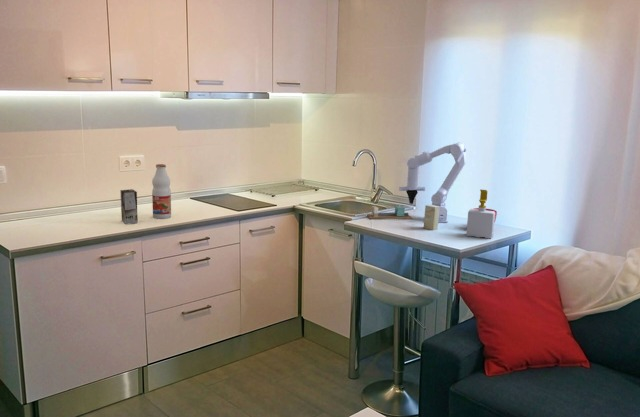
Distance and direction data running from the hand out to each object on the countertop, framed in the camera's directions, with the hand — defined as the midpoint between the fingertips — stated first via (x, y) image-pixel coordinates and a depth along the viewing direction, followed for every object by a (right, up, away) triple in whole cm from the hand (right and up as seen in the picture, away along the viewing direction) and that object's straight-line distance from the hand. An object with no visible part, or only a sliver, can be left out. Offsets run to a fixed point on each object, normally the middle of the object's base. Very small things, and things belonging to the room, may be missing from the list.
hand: (411, 203), depth 327 cm
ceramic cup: (+33, -13, -21) cm, 42 cm away
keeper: (-7, -6, 0) cm, 9 cm away
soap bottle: (+28, -17, -38) cm, 50 cm away
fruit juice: (-135, -8, -17) cm, 136 cm away
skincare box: (+6, -13, -25) cm, 29 cm away
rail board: (-12, -8, -1) cm, 15 cm away
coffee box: (-147, -10, -30) cm, 151 cm away
